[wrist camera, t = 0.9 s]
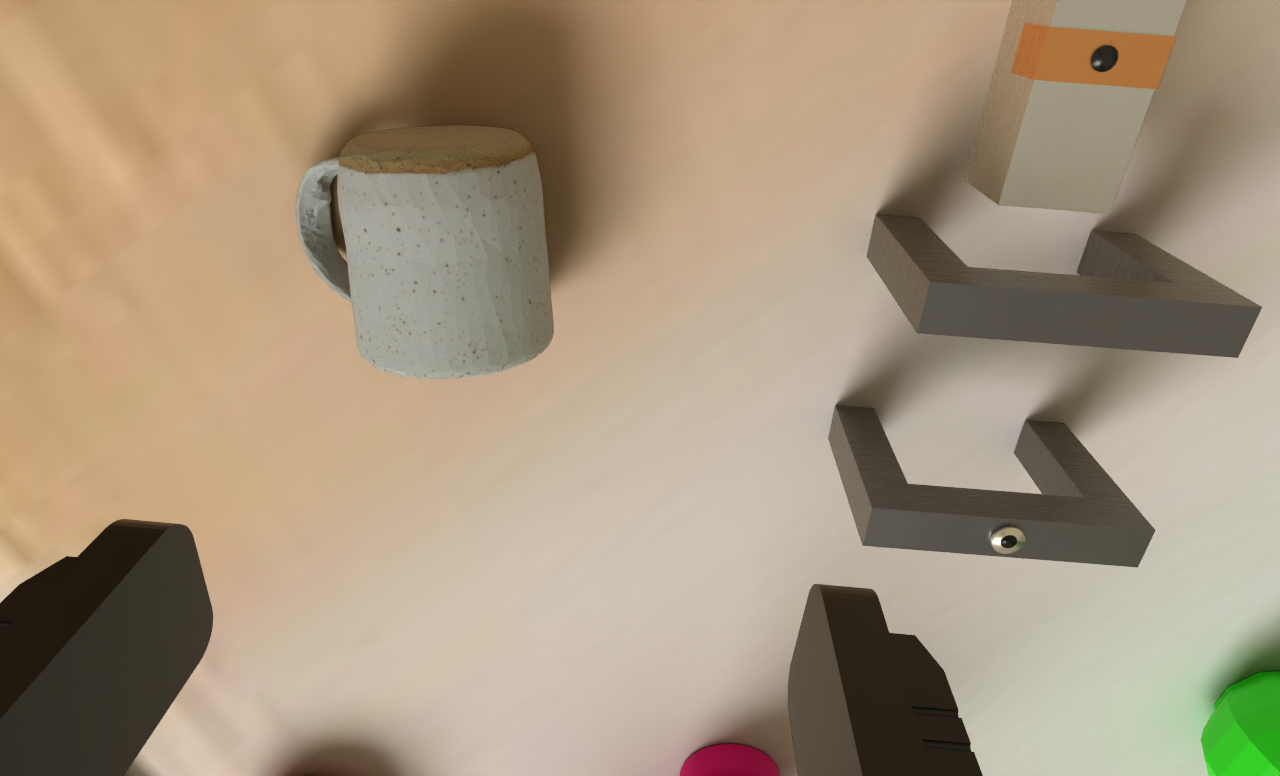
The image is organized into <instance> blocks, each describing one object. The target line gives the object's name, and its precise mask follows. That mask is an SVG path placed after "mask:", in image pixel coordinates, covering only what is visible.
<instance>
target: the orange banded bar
mask: <svg viewBox="0 0 1280 776" xmlns="http://www.w3.org/2000/svg"><path fill="white" fill-rule="evenodd" d="M1186 1H1187V0H1012V4H1011V8H1010V12H1009V15H1008V19H1007V23H1006V27H1005V30H1004V34H1003V38H1002V42H1001V46H1000V49H999V53H998V57H997V61H996V64H995V68H994V72H993V76H992V80H991V83H990V87H989V91H988V95H987V98H986V102H985V106H984V110H983V114H982V117H981V121H980V125H979V129H978V132H977V136H976V140H975V144H974V147H973V151H972V155H971V159H970V163H969V166H968V170H967V174H966V178H965V181H966V182H967V183H969V184H970V185H972V186H973V187H974V188H976V189H977V190H978V191H980V192H981V193H983V194H984V195H985V196H987V197H988V198H989V199H991V200H992V201H994V202H995V203H996V204H998V205H1005V206H1018V207H1030V208H1043V209H1056V210H1069V211H1081V212H1094V213H1107V214H1110V213H1111V210H1112V207H1113V204H1114V201H1115V199H1116V196H1117V193H1118V190H1119V188H1120V185H1121V182H1122V179H1123V176H1124V174H1125V171H1126V168H1127V165H1128V163H1129V160H1130V157H1131V154H1132V151H1133V149H1134V146H1135V143H1136V140H1137V138H1138V135H1139V132H1140V129H1141V126H1142V124H1143V121H1144V118H1145V115H1146V113H1147V110H1148V107H1149V104H1150V101H1151V99H1152V96H1153V93H1154V90H1155V89H1158V86H1159V83H1160V81H1161V78H1162V75H1163V72H1164V69H1165V67H1166V64H1167V61H1168V58H1169V56H1170V53H1171V50H1172V47H1173V45H1174V42H1175V39H1176V37H1175V36H1174V35H1175V32H1176V29H1177V26H1178V24H1179V21H1180V18H1181V15H1182V13H1183V10H1184V7H1185V4H1186Z"/></svg>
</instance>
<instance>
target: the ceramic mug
mask: <svg viewBox="0 0 1280 776" xmlns="http://www.w3.org/2000/svg"><path fill="white" fill-rule="evenodd" d="M337 174H338V181H337V194H338V204H339V211H340V217H341V222H342V228H343V233H344V239H345V244H346V253H347V262H346V261H345V260H344V259H343V258H342V256H341V254H340V253H339V251H338V247H337V245H336V243H335V241H334V236H333V230H332V221H331V208H330V202H331V199H332V198H331V192H330V185H331V182H332V180H333V178H334V177H335V176H336V175H337ZM296 220H297V228H298V233H299V237H300V241H301V243H302V246H303V249H304V251H305V254H306V256H307V258H308V260H309V262H310V264H311V265H312V267H313V269H314V270H315V271H316V273H317V274H318V275H319V277H320V278H321V279H322V280H323V281H324V282H325V283H326V284H327V285H328V286H329V287H330V288H331V289H332V290H333V291H335V292H336V293H338V294H339V295H340V296H342V297H343V298H345V299H346V300H348V301H350V302H352V308H353V316H354V324H355V332H356V341H357V346H358V349H359V352H360V355H361V357H362V358H363V359H365V361H366V362H367V363H369V364H370V365H372V366H374V367H375V368H377V369H380V370H382V371H385V372H388V373H392V374H395V375H399V376H403V377H410V378H420V379H440V380H441V379H453V378H471V377H478V376H485V375H491V374H495V373H499V372H502V371H506V370H509V369H511V368H513V367H516V366H518V365H521V364H523V363H526V362H528V361H530V360H532V359H533V358H535V357H536V356H538V355H539V354H540V353H542V352H543V351H544V350H545V349H546V348H547V347H548V346H549V344H550V342H551V340H552V337H553V334H554V326H553V312H552V303H551V291H550V277H549V263H548V252H547V243H546V235H545V218H544V204H543V191H542V182H541V176H540V172H539V168H538V163H537V159H536V155H535V152H534V150H533V148H532V145H531V143H530V142H529V141H528V140H526V139H525V138H524V137H523V136H522V135H521V134H520V133H518V132H516V131H514V130H509V129H504V128H497V127H487V126H467V125H448V126H421V127H408V128H396V129H388V130H382V131H376V132H370V133H366V134H363V135H360V136H358V137H355V138H353V139H351V140H350V141H349V142H348V143H347V144H346V146H345V147H344V148H343V150H342V151H341V154H340V157H335V158H331V159H327V160H324V161H322V162H320V163H318V164H316V165H314V166H312V167H311V168H309V169H308V170H307V172H306V173H305V175H304V176H303V178H302V180H301V182H300V185H299V187H298V190H297V197H296ZM347 263H348V264H347Z"/></svg>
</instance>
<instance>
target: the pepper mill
mask: <svg viewBox="0 0 1280 776" xmlns="http://www.w3.org/2000/svg"><path fill="white" fill-rule="evenodd" d="M680 776H780V774H779V770H778V768H777V766H776V764H775V763H774V761H773V760H772V759H771V758H770V757H769V756H767V755H766V754H764V753H763V752H761V751H759V750H758V749H755V748H752V747H749V746H746V745H739V744H719V745H714V746H710V747H706V748H704V749H702V750H700V751H698V752H696V753H694V754H693V755H692V756H691V757H689V758H688V759H687V760H686V761H685V763H684V765H683V766H682V768H681V771H680Z"/></svg>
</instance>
